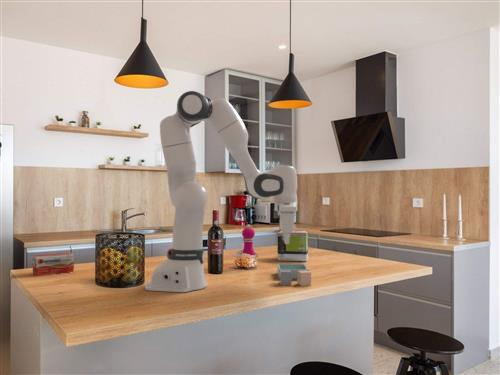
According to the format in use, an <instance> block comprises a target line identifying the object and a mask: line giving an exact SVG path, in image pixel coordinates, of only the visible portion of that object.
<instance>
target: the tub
mask: <svg viewBox="0 0 500 375" xmlns="http://www.w3.org/2000/svg"><path fill="white" fill-rule="evenodd" d="M280 270H291V281H292V280H294V281H295V280H297V271H305V270H307V271H309V272H310V269H309V267H308V266H307V265H306V264H305V263H277V276H278V280H280Z"/></svg>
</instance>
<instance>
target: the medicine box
mask: <svg viewBox="0 0 500 375" xmlns="http://www.w3.org/2000/svg"><path fill="white" fill-rule="evenodd" d="M74 269H75V256H74V254H72V253H71V252H60V253H57V252H56V253H47V254H45V253H44V254H34V255H33V257H32V274H34V276H35V277H43V276H45V275H46V276H54V275H53V274H56V275H62V274H61V273H66V274H71V273H70V272H73V273H74Z"/></svg>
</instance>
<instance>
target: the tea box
mask: <svg viewBox="0 0 500 375" xmlns="http://www.w3.org/2000/svg"><path fill="white" fill-rule="evenodd" d="M308 234H309V233H308V231H306V230H305V231H304V230H301V231H300V230H299V231H297V230H293V232H292V233H290V239H289V244H285V243H284V241H283V235H282V230H280V231H278V232H277V234H276V235H277V238H276V239H277V261H287V262H288V261H290V262H292V261H293V262H307V261H308V258H309V240H308V239H309V236H308Z"/></svg>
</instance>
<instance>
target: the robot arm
mask: <svg viewBox="0 0 500 375" xmlns="http://www.w3.org/2000/svg"><path fill="white" fill-rule="evenodd" d="M201 122H207V124H209V125H210V126H211V128H212V130H213V131H214V133H215V135H216V137H218V140H219V141H220V142H221V143H222V145H223V146H224V147H225V149H226V150H227V151H228V153H229V154H230V156H231V157H232V158H233V160H234V162H235V164H236V165H237V168H238V169H239V171H240V172H241V175H242V176H243V179H244V184H245V189H246V192H247V194H248V196H250V197H251V198H253V199H257V200H258V199H260V200H261V199H266V198H267V199H268V198H271V197H273V198H274V211H275V212H277V216H279V228H280V231H282V235H283V241H284V243H285V244H289V239H290V233H292V232H293V231H294V226H295V214H296V212H297V211H298V196H297V191H298V175H297V173H298V172H297V170H296V167H294V166H292V165H290V164H283V163H282V164H277V165H276V166H274V167H272V168H271V169H268V170H266V171H263V172H261V171H259V169H258V168H257V166H256V163H254V161H253V158H252V157H251V155H250V152H249V150H248V142H249V132H248V129H247V127H246V125H245V123H244V121H243V120H242V118H241V116H240V115H239V113H238V112H237V111H236V109H235V108H234V107H233V105H232V104H231V102H229V101H228V100H227V99H226V98H223V97H220V98H216V99H214V100H212V99H210V98H209V97H207V96H205V95H204V94H202V93H200V92H198V91H196V90H188V91H185V92H183V93H182V94H181V95H180V96H179V97H178V99H177V103H176V112H175V113H174V114H173V115H168V116H166V117H164V118H163V119H162V120H161V121H160V123H159V137H160V143H161V150H162V153H163V158H164V164H165V167H166V168H165V169H166V174H167V183H168V191H169V197H170V202H171V204H172V206H173V207H174V208H175V211H174V218H173V219H174V222H173V225H172V247H170V248H169V249H168V250H167V251H166V256H167V259H166V260H164V261H163V262H161V263H160V264H159V265H158V266H157V267H156V268H154V270H153V271H152V275H151V278H150V281H148V282H146V283H145V285H144V290H145V291H153V292H169V293H170V292H171V293H187V292H191V291H197V290H201V289H205V288H206V287H207V286H208V284H207V281H206V277H205V271H204V262H205V251H204V249H205V248H203V242H204V241H203V240H204V239H203V237H204V236H203V232H204V230H203V229H204V221H205V215H206V209H207V202H208V196H209V195H208V192H207V190H206V188H205V187H204V186H203V185H202V184H201V183H199V182H197V169H196V168H197V162H196V160H197V159H196V156H195V151H194V147H193V143H192V142H193V141H192V137H191V132H190V130H191V128H193V127H195V126H196V125H198V124H201Z"/></svg>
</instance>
